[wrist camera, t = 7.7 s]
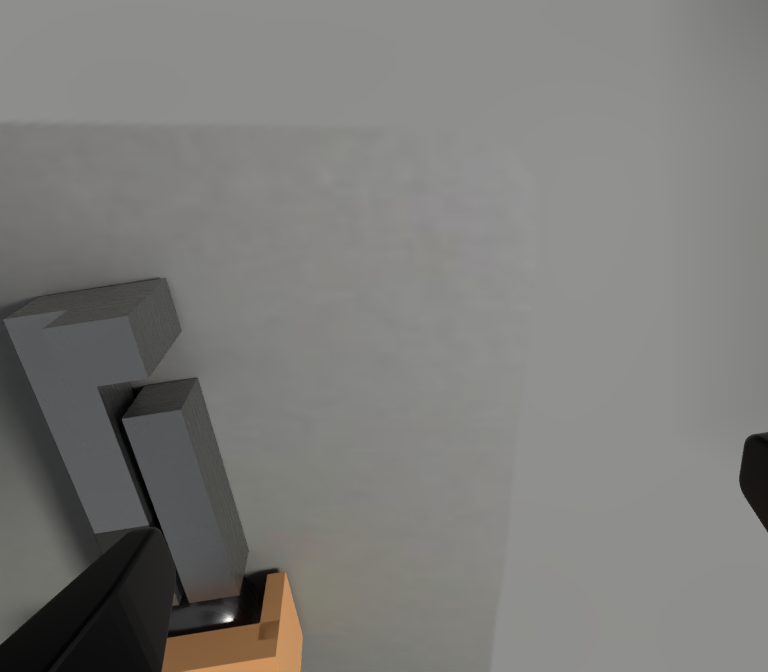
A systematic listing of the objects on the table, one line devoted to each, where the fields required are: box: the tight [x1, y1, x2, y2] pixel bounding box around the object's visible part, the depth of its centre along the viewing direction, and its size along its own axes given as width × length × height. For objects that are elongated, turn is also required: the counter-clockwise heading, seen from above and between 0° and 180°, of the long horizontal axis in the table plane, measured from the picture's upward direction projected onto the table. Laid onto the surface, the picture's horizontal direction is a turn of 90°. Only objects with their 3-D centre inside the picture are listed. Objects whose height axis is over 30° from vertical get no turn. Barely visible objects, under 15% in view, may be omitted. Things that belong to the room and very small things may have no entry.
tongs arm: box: [3, 278, 184, 606], centre depth 20 cm, size 12×4×4 cm, turn 8°
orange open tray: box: [162, 572, 303, 672], centre depth 23 cm, size 4×7×4 cm, turn 98°
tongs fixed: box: [122, 378, 258, 638], centre depth 22 cm, size 13×4×2 cm, turn 8°
